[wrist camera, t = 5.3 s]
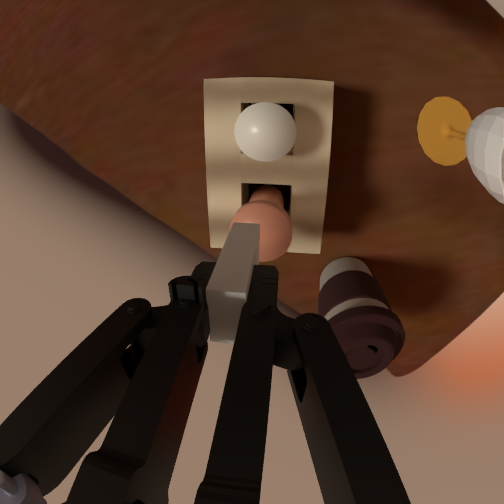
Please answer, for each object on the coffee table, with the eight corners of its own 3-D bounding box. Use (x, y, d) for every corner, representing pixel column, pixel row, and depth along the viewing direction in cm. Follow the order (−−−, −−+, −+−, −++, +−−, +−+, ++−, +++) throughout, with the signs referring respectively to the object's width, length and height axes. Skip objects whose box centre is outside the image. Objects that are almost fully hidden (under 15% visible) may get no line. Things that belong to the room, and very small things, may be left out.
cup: (428, 174, 31) (501, 230, 17) (406, 106, 27) (486, 122, 14) (479, 154, 28) (559, 198, 14) (462, 89, 25) (549, 101, 11)
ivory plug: (246, 101, 29) (234, 102, 22) (294, 102, 29) (297, 103, 22) (246, 146, 32) (234, 160, 25) (293, 147, 31) (295, 163, 24)
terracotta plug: (242, 176, 30) (228, 203, 23) (292, 178, 30) (294, 206, 23) (243, 221, 33) (230, 259, 26) (290, 224, 32) (290, 263, 25)
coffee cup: (316, 310, 43) (321, 393, 30) (303, 254, 39) (308, 337, 26) (379, 297, 41) (405, 377, 28) (375, 240, 36) (412, 316, 23)
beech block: (217, 82, 29) (203, 79, 24) (325, 84, 28) (333, 81, 23) (221, 225, 38) (210, 247, 33) (315, 230, 37) (319, 253, 32)
